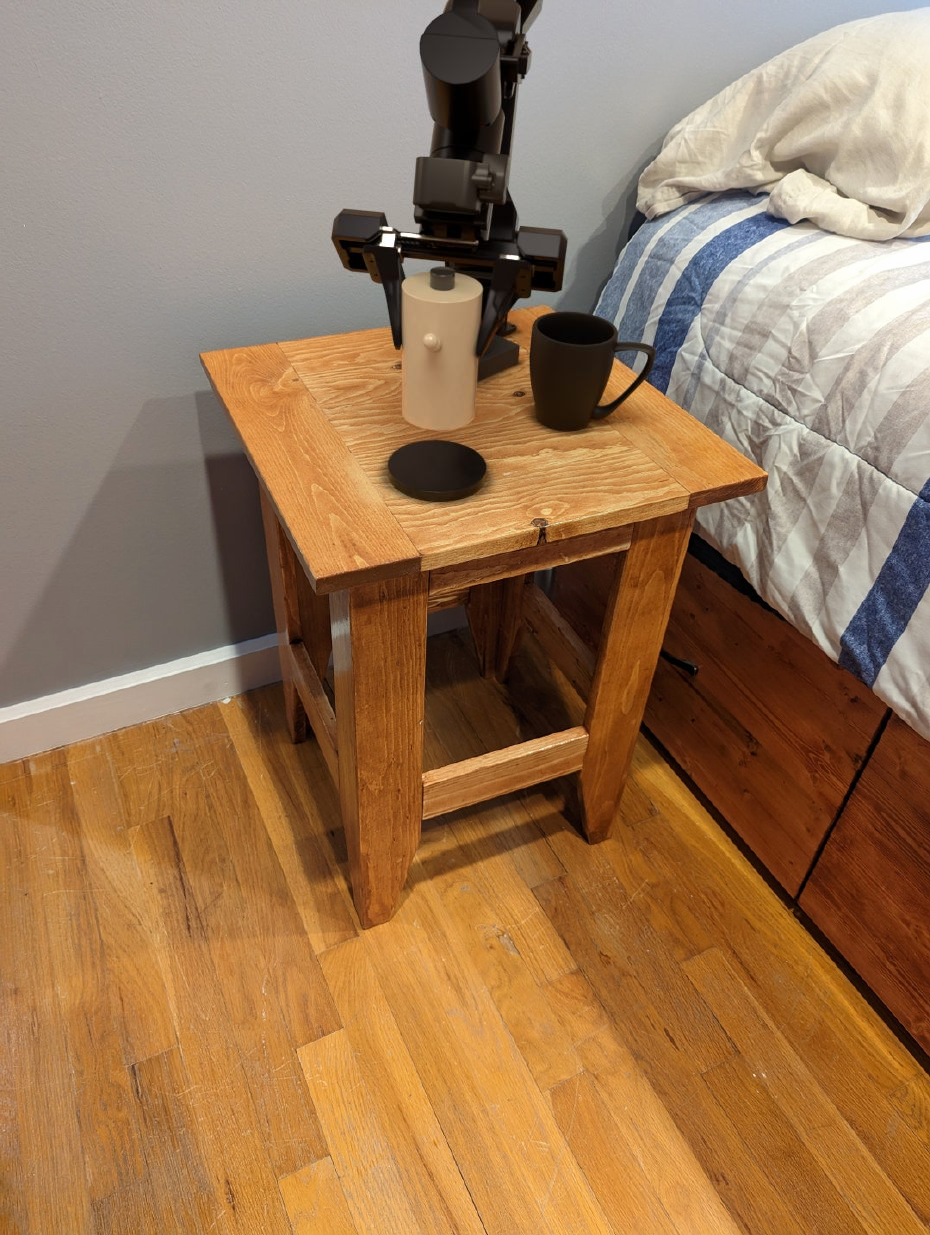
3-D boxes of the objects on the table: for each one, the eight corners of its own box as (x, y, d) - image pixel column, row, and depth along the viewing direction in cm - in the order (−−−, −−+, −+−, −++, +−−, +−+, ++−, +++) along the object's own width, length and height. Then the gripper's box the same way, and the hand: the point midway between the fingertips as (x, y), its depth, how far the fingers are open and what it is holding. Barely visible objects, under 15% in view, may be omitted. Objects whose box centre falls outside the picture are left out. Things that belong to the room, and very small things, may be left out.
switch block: (466, 340, 101) (468, 307, 99) (518, 363, 98) (521, 329, 95) (405, 365, 96) (405, 330, 93) (458, 390, 92) (459, 354, 89)
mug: (632, 452, 84) (651, 360, 78) (513, 428, 86) (522, 336, 80) (645, 414, 90) (664, 325, 84) (534, 393, 92) (544, 305, 86)
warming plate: (436, 439, 84) (436, 429, 83) (505, 475, 80) (506, 466, 79) (367, 472, 79) (367, 463, 78) (438, 513, 74) (438, 504, 74)
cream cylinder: (409, 391, 78) (409, 252, 70) (479, 398, 77) (488, 260, 69) (388, 441, 71) (386, 294, 63) (465, 450, 71) (473, 304, 63)
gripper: (330, 92, 64) (300, 298, 63) (583, 115, 62) (555, 325, 61) (358, 178, 75) (333, 354, 74) (573, 199, 73) (550, 378, 73)
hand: (437, 352), depth 70 cm, fingers closed on cream cylinder, 6 cm apart
